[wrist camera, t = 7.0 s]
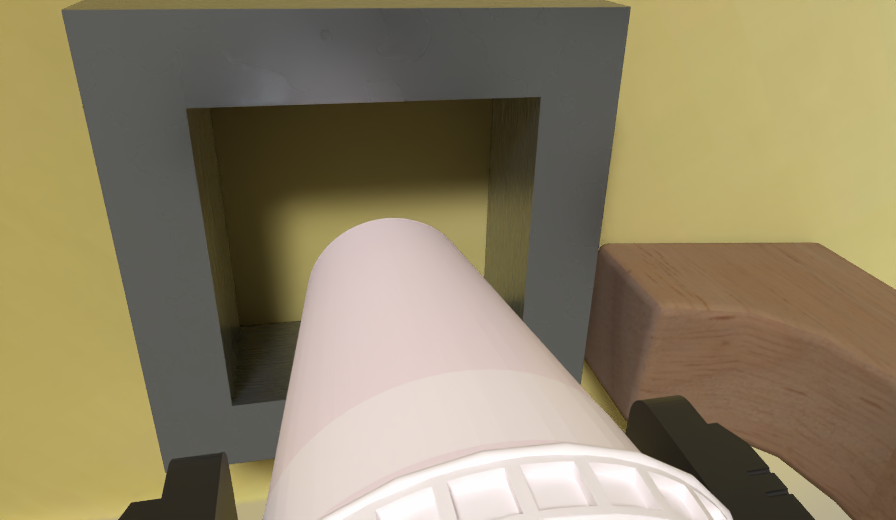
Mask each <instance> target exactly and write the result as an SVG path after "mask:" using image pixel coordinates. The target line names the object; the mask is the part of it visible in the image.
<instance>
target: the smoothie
mask: <svg viewBox="0 0 896 520" xmlns="http://www.w3.org/2000/svg"><path fill="white" fill-rule="evenodd" d="M262 520H733V518H732V516H731V513H730V511H729V510H728V509H727V508H726V507H725V506H724V505H723V504H722V503H721V502H720V501H719V500H718V499H717V498H716V497H715V496H714V495H713V494H712V493H711V492H710V491H708V490H707V489H706V488H705V487H704V486H703V485H702V484H701V483H700V482H699V481H698V480H697V479H696V478H695V477H694V476H693V475H691V474H689V473H687V472H684V471H682V470H680V469H677V468H675V467H673V466H670V465H668V464H666V463H663V462H661V461H659V460H656V459H654V458H652V457H649V456H647V455H645V454H642V453H641V452H640V451H639V450H638V448H637V447H636V446H635V445H634V444H633V443H632V442H631V440H630V439H629V438H628V437H627V436H626V435H625V433H624V432H623V431H622V430H621V429H620V428H619V426H618V425H617V424H616V423H615V422H614V421H613V420H612V418H611V417H610V416H609V415H608V414H607V413H606V412H605V411H604V410H603V409H602V408H601V407H600V406H599V405H598V404H597V403H596V402H595V401H594V400H593V399H592V398H591V396H590V395H589V394H588V393H587V392H586V391H585V390H584V389H583V388H582V386H581V385H580V384H579V383H578V382H577V381H576V380H575V379H574V378H573V376H572V375H571V374H570V373H569V372H568V371H567V370H566V369H565V368H564V366H563V365H562V364H561V363H560V362H559V361H558V360H557V359H556V358H555V356H554V355H553V354H552V353H551V352H550V351H549V350H548V349H547V348H546V346H545V345H544V344H543V343H542V342H541V341H540V340H539V339H538V337H537V336H536V335H535V334H534V333H533V332H532V331H531V330H530V329H529V327H528V326H527V325H526V324H525V323H524V322H523V321H522V320H521V319H520V317H519V316H518V315H517V314H516V313H515V312H514V311H513V310H512V309H511V307H510V306H509V305H508V304H507V303H506V302H505V301H504V300H503V299H502V297H501V296H500V295H499V294H498V293H497V292H496V291H495V290H494V289H493V287H492V286H491V285H490V284H489V283H488V282H487V281H486V280H485V279H484V277H483V276H482V275H481V274H480V273H479V272H478V271H477V270H476V269H475V267H474V266H473V265H472V264H471V263H470V262H469V261H468V260H467V258H466V257H465V256H464V255H463V254H462V253H461V252H460V251H459V250H458V248H457V247H456V246H455V245H454V244H453V243H452V242H451V241H450V240H449V239H448V238H447V237H446V236H445V235H444V234H442V233H441V232H440V231H438V230H437V229H435V228H433V227H431V226H429V225H427V224H424V223H421V222H418V221H415V220H410V219H403V218H384V219H377V220H373V221H369V222H365V223H363V224H360V225H357V226H355V227H353V228H351V229H349V230H347V231H346V232H344V233H343V234H341V235H340V236H338V237H337V238H336V239H335V240H333V241H332V242H331V243H330V244H329V245H328V246H327V247H326V248H325V250H324V251H323V252H322V253H321V255H320V256H319V258H318V259H317V261H316V263H315V265H314V267H313V269H312V272H311V274H310V278H309V282H308V287H307V292H306V298H305V303H304V308H303V314H302V319H301V324H300V329H299V335H298V340H297V345H296V350H295V356H294V361H293V366H292V371H291V377H290V382H289V387H288V392H287V398H286V403H285V408H284V414H283V419H282V424H281V429H280V435H279V440H278V445H277V450H276V456H275V461H274V466H273V471H272V477H271V482H270V487H269V492H268V498H267V503H266V508H265V512H264V515H263V519H262Z"/></svg>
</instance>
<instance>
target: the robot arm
mask: <svg viewBox="0 0 896 520" xmlns="http://www.w3.org/2000/svg"><path fill="white" fill-rule="evenodd" d="M626 436H627V437H628V438H629V439H630V440H631V442H632V443H633V444H634V445H635V446H636V447H637V448H638V450H639V451H640V452H641V453H642V454H645V455H647V456H649V457H652V458H654V459H656V460H659V461H661V462H663V463H666V464H668V465H670V466H673V467H675V468H677V469H680V470H682V471H684V472H687V473H689V474H691V475H693V476H694V477H695V478H696V479H697V480H698V481H699V482H700V483H701V484H702V485H703V486H704V487H705V488H706V489H707V490H708V491H710V492H711V493H712V494H713V495H714V496H715V497H716V498H717V499H718V500H719V501H720V502H721V503H722V504H723V505H724V506H725V507H726V508H727V509H728V510H729V511H730V513H731V516H732V518H733V520H815V519H814V518H813V517H812V516H811V515H810V513H809V512H808V511H807V510H806V509H805V508H804V506H803V505H802V504H801V503H800V502H799V501H798V500H797V499H796V497H795V496H794V495H793V494H789V493H788V488H787V487H786V486H785V485H784V484H783V483H782V481H781V480H780V479H779V478H778V477H777V476H776V475H775V473H771V472H770V471H769V467H768V465H767V464H766V463H765V462H764V461H763V460H762V459H761V458H760V457H759V455H758V454H757V453H756V452H755V451H754V450H753V448H752V447H751V446H750V445H749V444H748V443H747V442H746V441H744V440H743V439H741V438H740V437H738V436H737V435H735V434H734V433H732V432H731V431H729V430H728V429H726V428H724V427H723V426H721V425H720V424H718V423H710V424H707V423H706V421H705V420H704V419H703V418H702V417H701V415H700V414H699V413H698V412H697V411H696V409H695V408H694V407H693V406H692V405H691V403H690V402H689V401H688V400H687V399H686V398H684V397H683V396H680V395H675V396H667V397H659V398H652V399H644V400H637V401H635V402H634V403H633V404H632V406H631V408H630V412H629V418H628V423H627V429H626ZM118 520H238V518H237V513H236V506H235V500H234V493H233V487H232V481H231V475H230V469H229V463H228V458H227V455H226V453H225V452H221V453H214V454H206V455H198V456H190V457H183V458H175V459H171V461H170V463H169V465H168V469H167V474H166V479H165V484H164V489H163V494H162V498H161V499H154V500H147V501H140V502H132V503H131V504H130V505H129V506H128V508H127V509H126V510H125V512H124V513H123V514H122V516H121V517H120V518H119V519H118Z"/></svg>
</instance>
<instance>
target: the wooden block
mask: <svg viewBox="0 0 896 520" xmlns="http://www.w3.org/2000/svg"><path fill="white" fill-rule="evenodd" d="M584 359H585V361H586V362H587V364H588V365H589V367H590V368H591V370H592V371H593V373H594V374H595V376H596V377H597V379H598V380H599V382H600V383H601V384H602V386H603V387H604V389H605V390H606V392H607V393H608V395H609V396H610V398H611V399H612V401H613V402H614V404H615V405H616V407H617V408H618V410H619V411H620V413H621V414H622V415H623V417H624V418H625V420H626V421H627V422H628V418H629V412H630V408H631V406H632V404H633V403H634V402H635V401H637V400H644V399H652V398H659V397H667V396H675V395H680V396H683V397H684V398H686V399H687V400H688V401H689V402H690V403H691V405H692V406H693V407H694V408H695V409H696V411H697V412H698V413H699V414H700V415H701V417H702V418H703V419H704V420H705V421H706V423H707V424H710V423H718V424H720V425H721V426H723V427H724V428H726V429H728V430H729V431H731V432H732V433H734V434H735V435H737V436H738V437H740V438H741V439H743V440H744V441H746V442H747V443H748V444H749V445H750V446H752V447H755V448H757V449H760V450H762V451H764V452H767V453H769V454H772V455H774V456H776V457H778V458H780V459H781V460H782V461H784V462H785V463H786V464H787V465H789V466H790V467H791V468H793V469H794V470H795V471H796V472H798V473H799V474H800V475H802V476H803V477H804V478H805V479H807V480H808V481H809V482H810V483H812V484H813V485H814V486H816V487H817V488H818V489H819V490H821V491H822V492H823V493H825V494H826V495H827V496H828V497H830V498H831V499H832V500H834V501H835V502H836V503H837V504H838V505H839V506H840V507H841V508H842V510H844V512H845V513H846V514H847V515H848V516H849V517H850V518H851V519H852V520H896V290H895V289H893V288H892V287H890V286H889V285H887V284H885V283H884V282H882V281H880V280H879V279H877V278H875V277H874V276H872V275H870V274H869V273H867V272H865V271H864V270H862V269H861V268H859V267H857V266H856V265H854V264H852V263H851V262H849V261H847V260H846V259H844V258H842V257H841V256H839V255H837V254H836V253H834V252H833V251H831V250H829V249H828V248H826V247H824V246H822V245H821V244H819V243H659V244H605V245H602V246H601V248H600V249H599V251H598V256H597V264H596V271H595V279H594V286H593V294H592V301H591V309H590V316H589V324H588V332H587V339H586V347H585V354H584Z"/></svg>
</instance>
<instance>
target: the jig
mask: <svg viewBox="0 0 896 520" xmlns="http://www.w3.org/2000/svg"><path fill="white" fill-rule="evenodd" d="M630 8H631V7H629V6H625V5H621V4H617V3H613V2H610V1H606V0H83V1H81V2H79V3H76V4H74V5H71V6H69V7H67V8H64V9H62V10H61V11H62V15H63V20H64V24H65V29H66V33H67V37H68V42H69V46H70V51H71V55H72V60H73V64H74V69H75V73H76V77H77V82H78V86H79V91H80V95H81V100H82V104H83V109H84V113H85V117H86V122H87V126H88V131H89V135H90V140H91V144H92V149H93V153H94V157H95V162H96V166H97V171H98V175H99V180H100V184H101V189H102V193H103V197H104V202H105V206H106V211H107V215H108V220H109V224H110V229H111V233H112V237H113V242H114V246H115V251H116V255H117V260H118V264H119V269H120V273H121V277H122V282H123V286H124V291H125V295H126V300H127V304H128V309H129V313H130V317H131V322H132V326H133V331H134V335H135V340H136V344H137V349H138V353H139V357H140V362H141V366H142V371H143V375H144V380H145V384H146V389H147V393H148V397H149V402H150V406H151V411H152V415H153V420H154V424H155V429H156V433H157V437H158V442H159V446H160V451H161V455H162V460H163V464H164V469H165V473H167V469H168V465H169V463H170V461H171V459H175V458H183V457H190V456H198V455H206V454H214V453H221V452H225V453H226V455H227V458H228V463H229V464H235V463H243V462H250V461H258V460H265V459H273V458H275V456H276V450H277V445H278V440H279V435H280V429H281V424H282V419H283V414H284V408H285V403H286V398H287V392H288V387H289V382H290V377H291V371H292V366H293V361H294V356H295V350H296V345H297V340H298V335H299V329H300V324H301V321H295V322H285V323H274V324H264V325H253V326H242V327H240V320H239V313H238V306H237V299H236V292H235V285H234V278H233V271H232V263H231V256H230V249H229V242H228V235H227V228H226V221H225V214H224V206H223V199H222V192H221V185H220V178H219V171H218V164H217V156H216V149H215V142H214V135H213V128H212V121H211V114H210V108H214V107H245V106H276V105H307V104H337V103H368V102H399V101H429V100H460V99H491V98H493V113H492V133H491V154H490V174H489V194H488V214H487V234H486V254H485V275H484V279H485V280H486V281H487V282H488V283H489V284H490V285H491V286H492V287H493V289H494V290H495V291H496V292H497V293H498V294H499V295H500V296H501V297H502V299H503V300H504V301H505V302H506V303H507V304H508V305H509V306H510V307H511V309H512V310H513V311H514V312H515V313H516V314H517V315H518V316H519V317H520V319H521V320H522V321H523V322H524V323H525V324H526V325H527V326H528V327H529V329H530V330H531V331H532V332H533V333H534V334H535V335H536V336H537V337H538V339H539V340H540V341H541V342H542V343H543V344H544V345H545V346H546V348H547V349H548V350H549V351H550V352H551V353H552V354H553V355H554V356H555V358H556V359H557V360H558V361H559V362H560V363H561V364H562V365H563V366H564V368H565V369H566V370H567V371H568V372H569V373H570V374H571V375H572V376H573V378H574V379H575V380H576V381H577V382H578V383H579V384H581V377H582V369H583V362H584V354H585V347H586V339H587V332H588V324H589V316H590V309H591V301H592V294H593V286H594V279H595V271H596V264H597V256H598V249H599V241H600V234H601V226H602V219H603V211H604V204H605V196H606V189H607V181H608V174H609V166H610V159H611V151H612V144H613V136H614V129H615V121H616V114H617V106H618V99H619V91H620V84H621V76H622V68H623V61H624V53H625V46H626V38H627V31H628V23H629V16H630Z"/></svg>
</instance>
